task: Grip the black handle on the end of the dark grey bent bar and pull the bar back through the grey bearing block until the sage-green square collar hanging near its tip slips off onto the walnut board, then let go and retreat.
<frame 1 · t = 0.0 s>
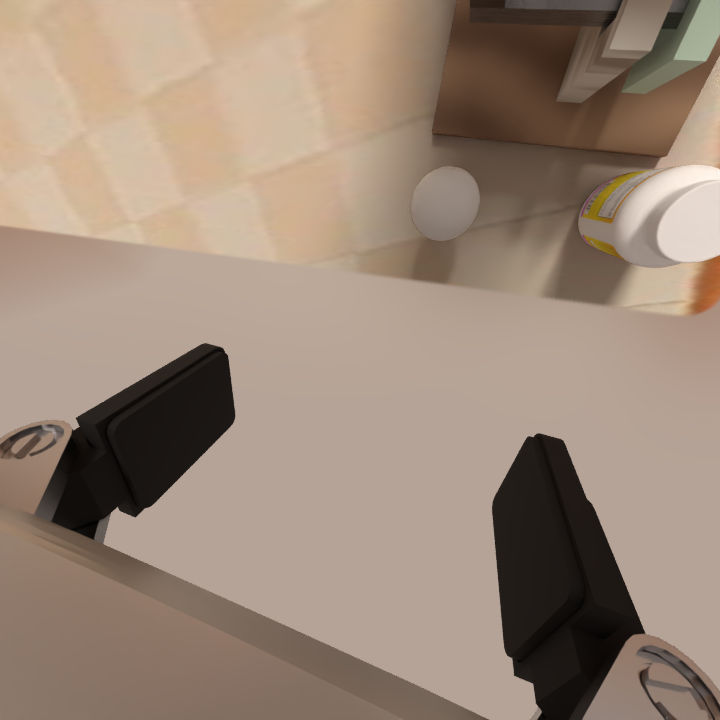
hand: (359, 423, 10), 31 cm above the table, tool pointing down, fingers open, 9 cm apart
collar: (661, 28, 20), point 6 cm above the table, touching dark grey bent bar
light bulb: (448, 202, 33), on the table
stand: (581, 58, 26), on the table
supplement bottle: (616, 212, 30), on the table
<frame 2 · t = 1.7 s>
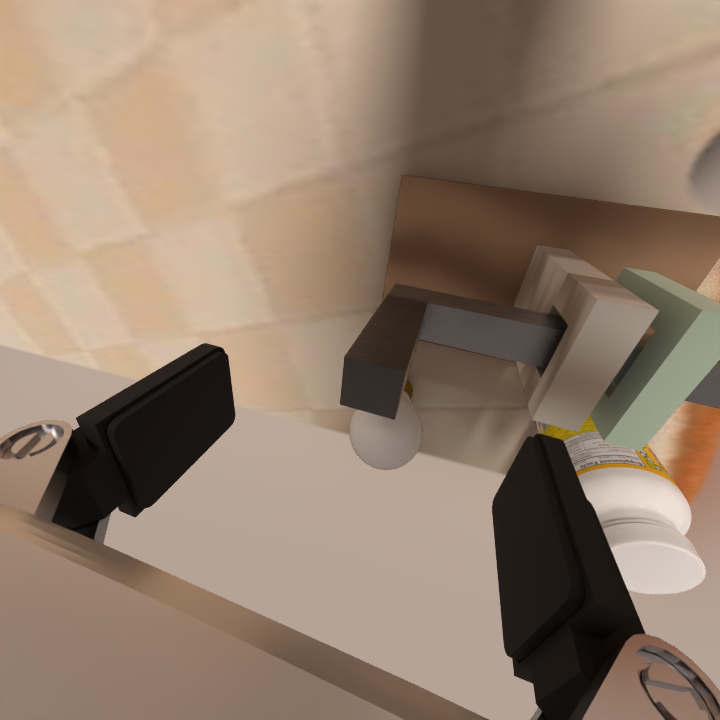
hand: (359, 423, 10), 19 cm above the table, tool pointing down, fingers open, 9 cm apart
collar: (606, 326, 18), point 6 cm above the table, touching dark grey bent bar
dark grey bent bar: (564, 375, 12), point 13 cm above the table, slide at 0.0 cm, touching collar
light bulb: (401, 383, 31), on the table
stand: (532, 286, 23), on the table
supplement bottle: (576, 417, 27), on the table
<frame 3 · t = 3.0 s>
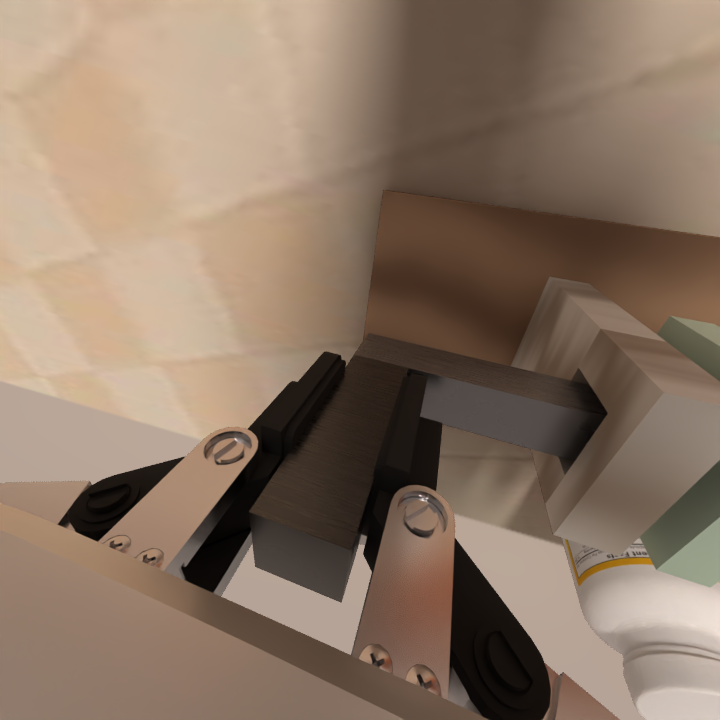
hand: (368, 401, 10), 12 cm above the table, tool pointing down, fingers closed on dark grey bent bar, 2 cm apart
collar: (642, 387, 14), point 6 cm above the table, touching dark grey bent bar
dark grey bent bar: (607, 495, 8), point 13 cm above the table, slide at 0.0 cm, touching collar, gripper
stand: (542, 323, 19), on the table
supplement bottle: (593, 472, 23), on the table
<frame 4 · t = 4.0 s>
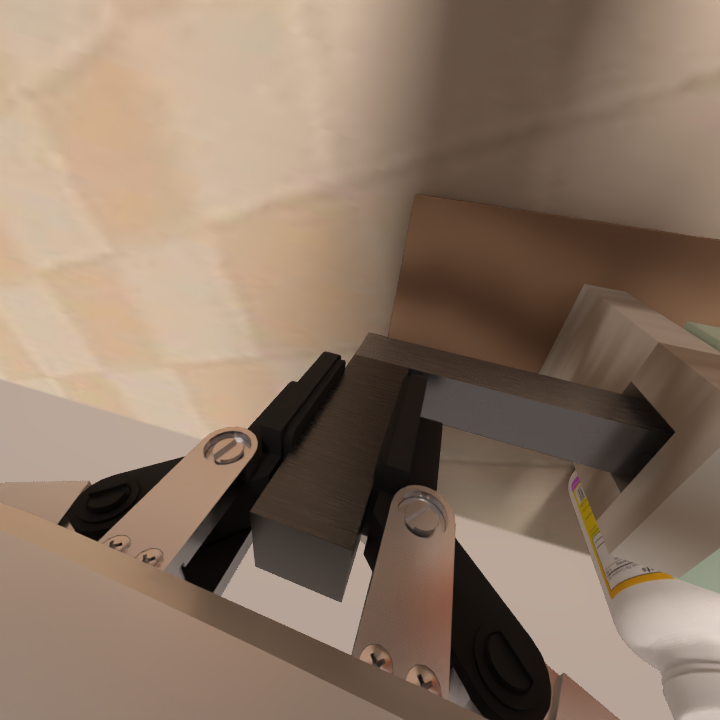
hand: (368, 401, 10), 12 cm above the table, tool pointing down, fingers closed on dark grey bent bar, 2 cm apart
collar: (657, 392, 14), point 6 cm above the table
dark grey bent bar: (607, 496, 8), point 13 cm above the table, slide at 1.8 cm, touching gripper
stand: (572, 330, 19), on the table
supplement bottle: (616, 480, 23), on the table
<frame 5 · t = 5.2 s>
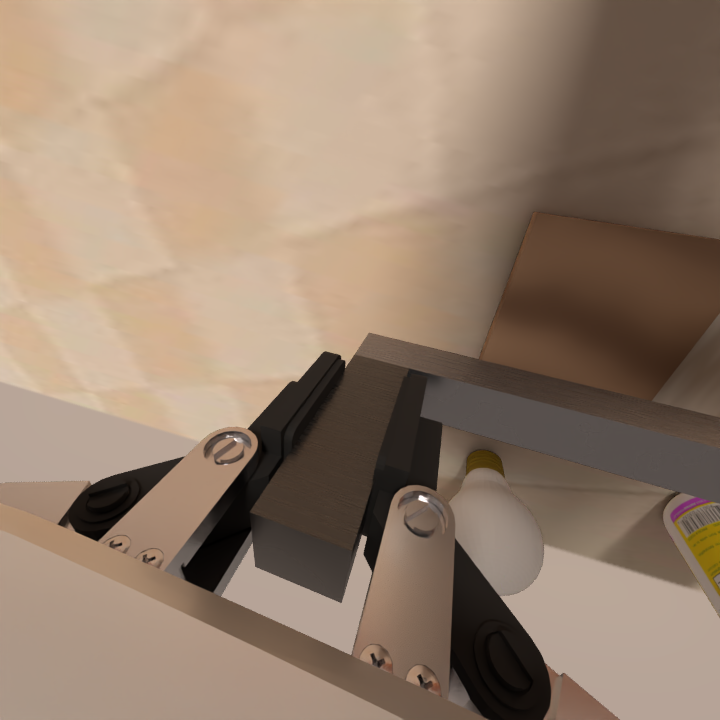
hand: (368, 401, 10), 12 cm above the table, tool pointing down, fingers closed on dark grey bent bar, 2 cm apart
dark grey bent bar: (607, 496, 8), point 13 cm above the table, slide at 8.2 cm, touching gripper
light bulb: (483, 453, 25), on the table
stand: (692, 356, 18), on the table
supplement bottle: (717, 509, 22), on the table
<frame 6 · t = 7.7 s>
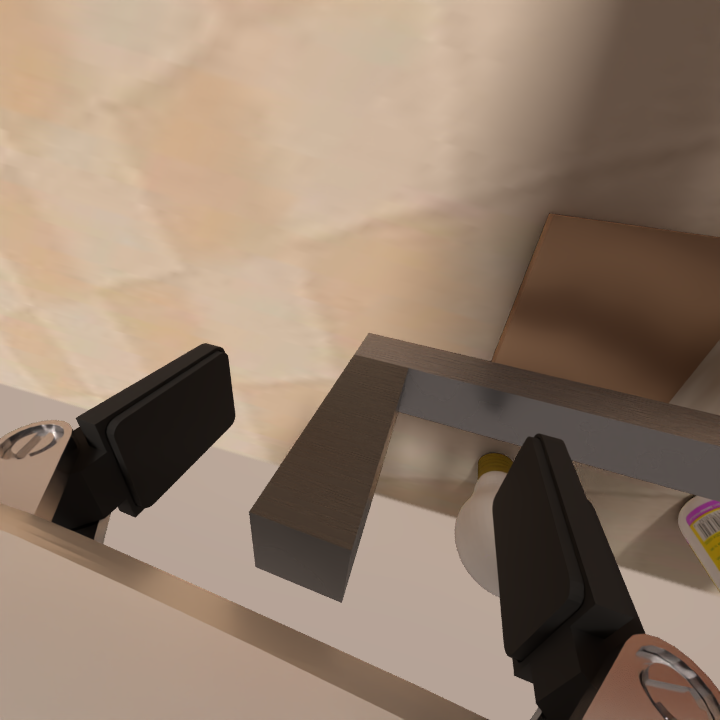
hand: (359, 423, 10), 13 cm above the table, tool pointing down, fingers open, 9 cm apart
dark grey bent bar: (608, 495, 8), point 13 cm above the table, slide at 9.0 cm
light bulb: (494, 456, 25), on the table
stand: (710, 358, 17), on the table
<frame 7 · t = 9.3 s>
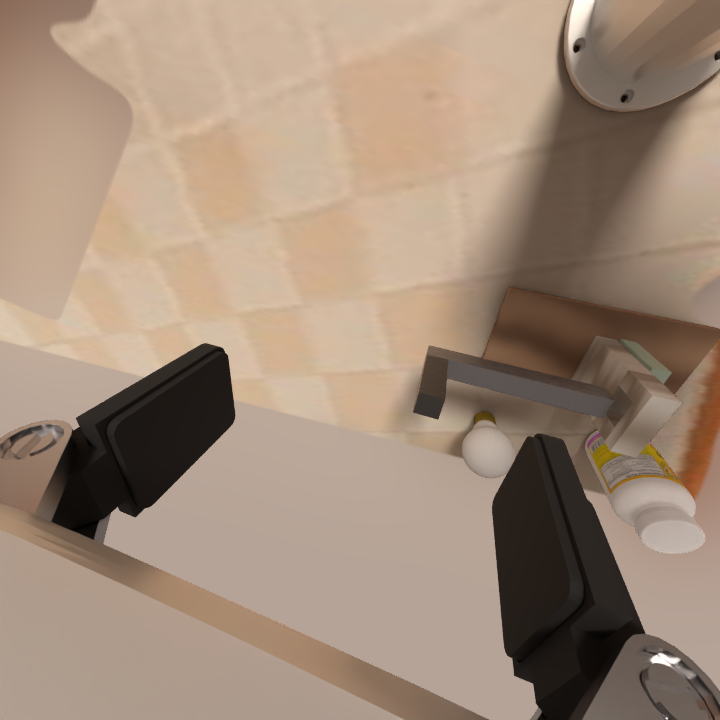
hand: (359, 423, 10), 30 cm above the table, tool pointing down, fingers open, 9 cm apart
collar: (611, 366, 34), point 1 cm above the table, touching stand
dark grey bent bar: (515, 399, 26), point 13 cm above the table, slide at 9.0 cm
light bulb: (484, 414, 43), on the table
stand: (589, 357, 35), on the table
supplement bottle: (613, 442, 39), on the table
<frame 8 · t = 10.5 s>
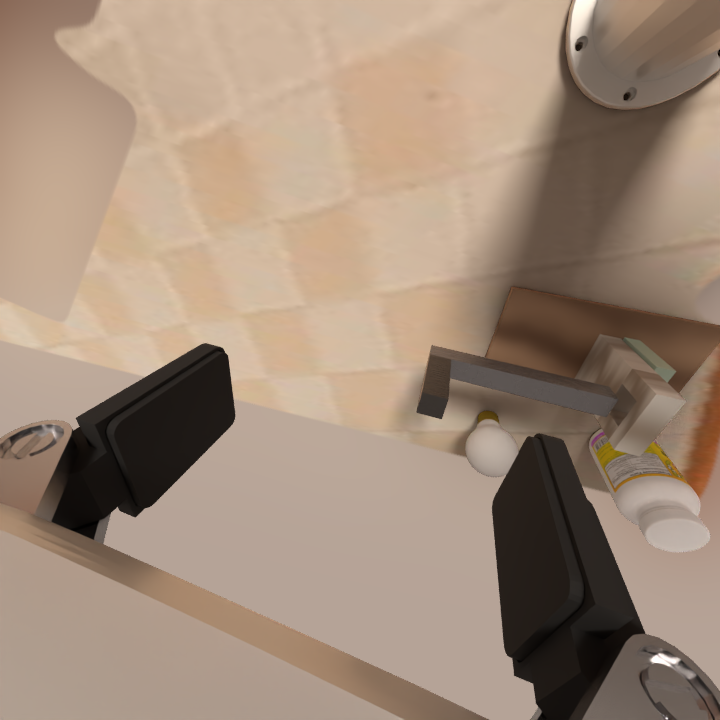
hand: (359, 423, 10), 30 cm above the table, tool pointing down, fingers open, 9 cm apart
collar: (615, 364, 34), point 1 cm above the table, touching stand
dark grey bent bar: (518, 398, 26), point 13 cm above the table, slide at 9.0 cm
light bulb: (487, 413, 43), on the table
stand: (592, 356, 35), on the table
supplement bottle: (617, 440, 39), on the table
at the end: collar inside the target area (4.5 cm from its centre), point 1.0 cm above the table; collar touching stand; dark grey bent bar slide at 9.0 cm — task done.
